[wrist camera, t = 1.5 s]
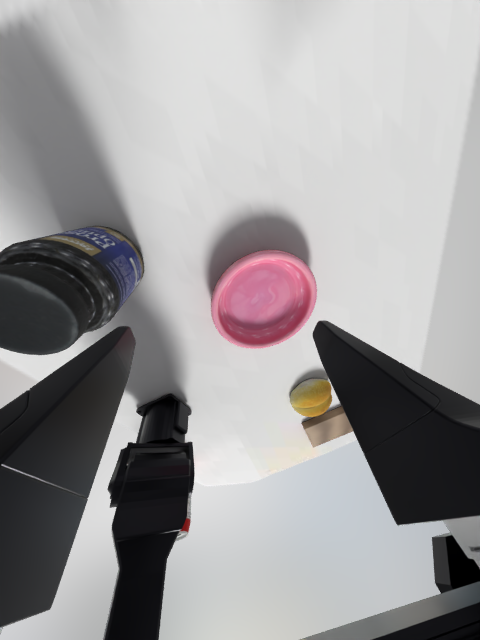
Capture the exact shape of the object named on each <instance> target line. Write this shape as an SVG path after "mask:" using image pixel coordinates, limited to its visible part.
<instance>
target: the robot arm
mask: <svg viewBox="0 0 480 640" xmlns="http://www.w3.org/2000/svg"><path fill="white" fill-rule="evenodd" d="M313 339H314V341H315V344H316V347H317V350H318V353H319V356H320V359H321V362H322V364H323V366H324V369H325V371H326V373H327V375H328V377H329V379H330V382H331V384H332V386H333V388H334V390H335V392H336V395H337V397H338V399H339V401H340V403H341V405H342V408H343V410H344V412H345V414H346V416H347V418H348V421H349V423H350V425H351V427H352V429H353V431H354V434H355V436H356V438H357V440H358V442H359V444H360V446H361V448H362V451H363V453H364V455H365V458H366V459H367V462H368V464H369V466H370V468H371V471H372V473H373V475H374V477H375V479H376V481H377V483H378V486H379V488H380V490H381V492H382V494H383V497H384V499H385V501H386V503H387V505H388V507H389V509H390V512H391V514H392V516H393V518H394V520H395V522H396V524H397V525H398V526H400V525H409V524H416V523H426V522H434V521H442V520H443V522H444V523H445V524H446V526H447V528H448V529H449V531H450V533H447V534H443V535H439V536H435V537H432V544H433V558H434V573H435V583H436V585H437V587H438V589H439V590H440V592H441V594H439V595H436V596H433V597H430V598H426V599H423V600H420V601H418V602H414V603H411V604H408V605H405V606H402V607H399V608H396V609H393V610H390V611H386V612H383V613H380V614H377V615H374V616H371V617H368V618H365V619H362V620H359V621H356V622H353V623H350V624H346V625H344V626H340V627H338V628H334V629H331V630H328V631H325V632H322V633H319V634H316V635H312V636H309V637H306V638H304V639H300V640H480V405H479V404H477V403H475V402H473V401H471V400H469V399H467V398H465V397H464V396H462V395H460V394H458V393H456V392H454V391H452V390H450V389H448V388H446V387H444V386H442V385H440V384H438V383H436V382H435V381H432V380H431V379H429V378H427V377H425V376H423V375H421V374H420V373H418V372H416V371H414V370H412V369H411V368H409V367H407V366H405V365H404V364H402V363H399V362H398V361H397V360H395V359H393V358H391V357H390V356H388V355H386V354H384V353H383V352H381V351H379V350H377V349H376V348H374V347H372V346H370V345H369V344H367V343H365V342H363V341H362V340H360V339H358V338H356V337H355V336H353V335H351V334H349V333H348V332H346V331H344V330H342V329H341V328H339V327H337V326H335V325H334V324H332V323H330V322H328V321H319V322H318V323H317V325H316V327H315V329H314V331H313ZM134 349H135V338H134V336H133V333H132V330H131V328H130V327H128V326H121V327H117V328H116V329H114V330H113V331H112V332H110V333H109V334H107V335H106V336H104V337H103V338H102V339H100V340H99V341H97V342H96V343H94V344H93V345H92V346H90V347H89V348H87V349H86V350H84V351H83V352H82V353H80V354H79V355H77V356H76V357H74V358H73V359H72V360H70V361H69V362H67V363H66V364H64V365H63V366H62V367H60V368H59V369H57V370H56V371H54V372H53V373H52V374H50V375H49V376H47V377H46V378H44V379H43V380H42V381H40V382H39V383H37V384H36V385H34V386H33V387H32V388H30V391H29V390H28V391H26V392H25V393H23V394H22V395H20V396H19V397H17V398H16V399H14V400H13V401H12V402H10V403H9V404H7V405H6V406H4V407H3V408H1V409H0V633H1V631H2V629H3V627H4V626H7V625H10V624H12V623H15V622H18V621H20V620H23V619H26V618H28V617H31V616H34V615H37V614H39V613H42V612H45V611H47V610H50V608H51V606H52V603H53V601H54V598H55V595H56V592H57V589H58V586H59V583H60V580H61V577H62V575H63V571H64V569H65V566H66V562H67V559H68V557H69V554H70V550H71V548H72V545H73V542H74V539H75V535H76V533H77V530H78V527H79V524H80V521H81V518H82V515H83V512H84V509H85V506H86V503H87V500H88V499H87V498H88V497H89V493H90V491H91V488H92V484H93V482H94V479H95V476H96V472H97V470H98V467H99V464H100V461H101V458H102V455H103V452H104V449H105V446H106V443H107V440H108V437H109V434H110V431H111V428H112V425H113V422H114V419H115V416H116V413H117V410H118V407H119V404H120V401H121V398H122V395H123V392H124V389H125V386H126V383H127V380H128V377H129V373H130V369H131V364H132V359H133V354H134ZM136 412H137V413H138V414H139V415H141V416H143V418H142V422H141V426H140V429H139V433H138V437H137V441H136V443H132V442H129V443H128V446H127V447H126V448H124V449H122V450H121V452H120V455H119V458H118V461H117V464H116V467H115V470H114V472H113V475H112V478H111V480H110V483H109V486H108V491H109V493H110V494H111V496H110V499H111V503H110V508H111V507H117V508H116V512H115V516H114V519H113V523H112V537H113V542H114V547H115V552H116V557H117V562H118V567H119V570H118V574H117V579H116V584H115V588H114V594H113V597H112V602H111V607H110V611H109V616H108V620H107V625H106V629H105V634H104V638H103V640H158V639H159V629H160V619H161V609H162V599H163V590H164V580H165V571H166V563H167V558H168V556H169V553H170V551H171V549H172V547H173V544H174V542H175V540H176V538H177V536H178V534H179V531H180V530H182V528H183V526H184V523H185V521H186V518H187V507H188V498H190V497H191V494H192V490H193V485H194V458H193V445H192V442H188V443H184V442H185V434H186V433H187V429H188V416H189V415H191V410H190V409H189V408H188V407H186V406H185V405H184V404H183V403H182V402H181V401H179V400H178V399H177V398H176V397H175V396H174V395H172V394H168V395H166V396H164V397H161V398H159V399H157V400H155V401H153V402H150V403H148V404H146V405H144V406H142V407H139V408H138V409H137V411H136Z"/></svg>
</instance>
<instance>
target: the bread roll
mask: <svg viewBox="0 0 480 640" xmlns="http://www.w3.org/2000/svg"><path fill="white" fill-rule="evenodd" d="M290 402H291V405H292V407H293V408H294V410H295V411H296V412H298V413H299V414H301V415H303V416H308V417H315V416H318V415H321V414H323V413H324V412H326V411H327V409H328V408H329V406H330V404H331V402H332V395H331V385H330V383H329V382H328V381H327V380H325V379H309V380H306V381H304V382H302V383H300V384H299V385H298V386H297V387H296V388H295V389H294V390H293V391H292V392H291V395H290Z"/></svg>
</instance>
